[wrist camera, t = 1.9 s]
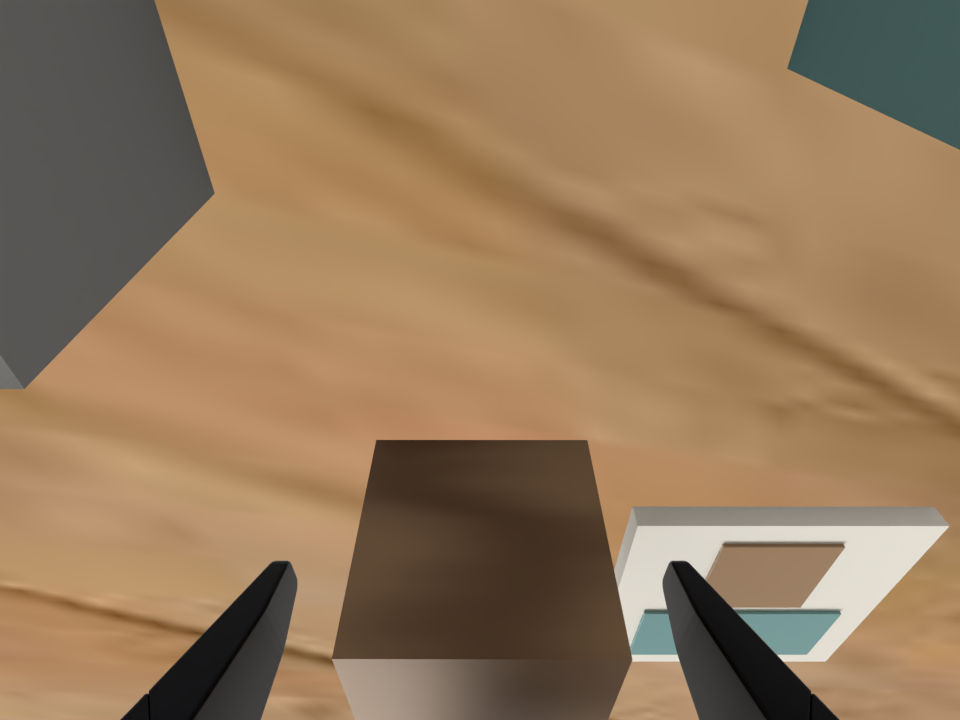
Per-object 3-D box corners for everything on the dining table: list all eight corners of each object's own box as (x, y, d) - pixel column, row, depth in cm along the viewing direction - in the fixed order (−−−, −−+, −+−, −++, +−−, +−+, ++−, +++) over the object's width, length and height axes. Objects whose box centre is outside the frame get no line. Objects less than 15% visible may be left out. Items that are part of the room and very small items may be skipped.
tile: (592, 643, 19) (596, 664, 19) (632, 506, 14) (638, 529, 14) (817, 643, 19) (826, 664, 19) (934, 506, 14) (952, 529, 14)
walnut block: (396, 554, 16) (369, 756, 12) (376, 437, 13) (332, 658, 9) (566, 554, 16) (593, 756, 12) (586, 437, 13) (632, 660, 9)
